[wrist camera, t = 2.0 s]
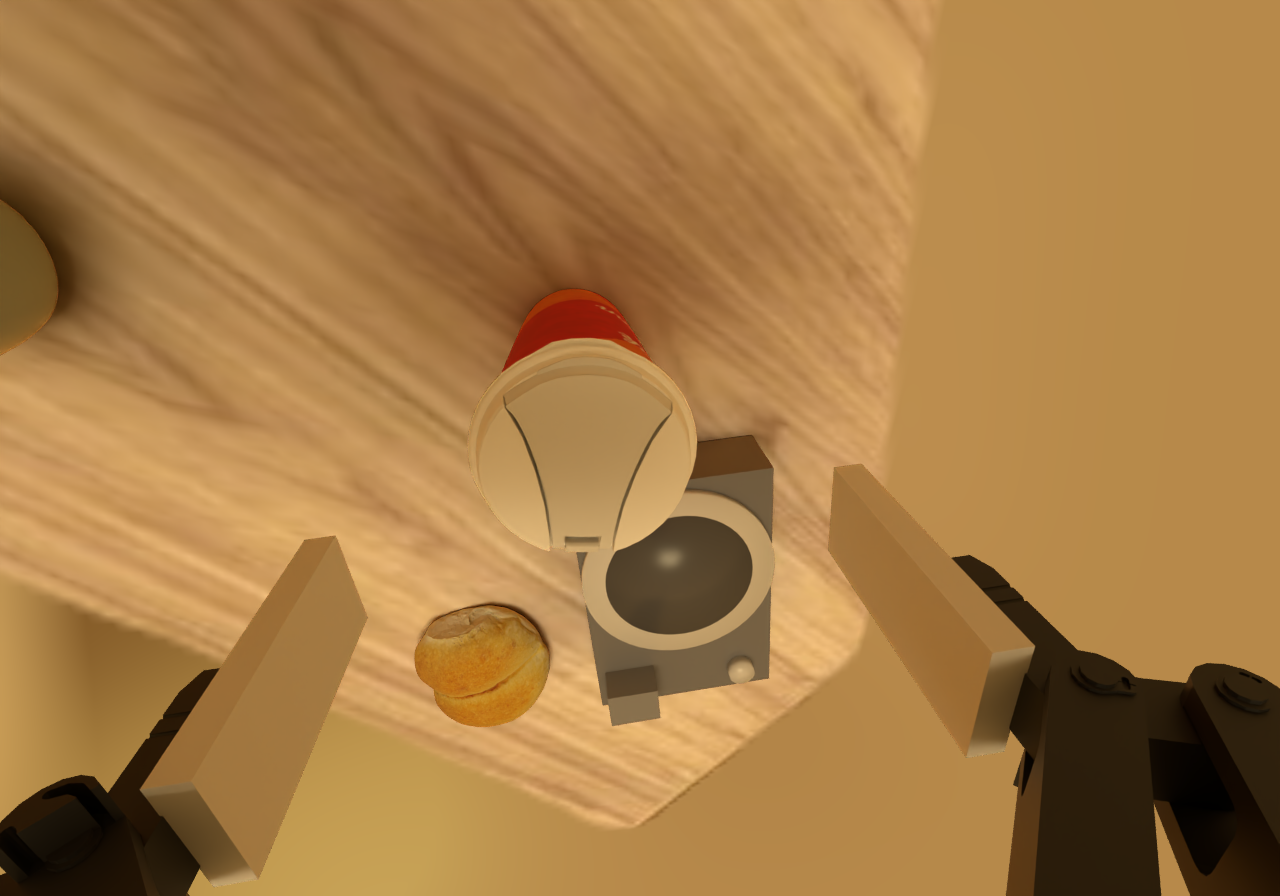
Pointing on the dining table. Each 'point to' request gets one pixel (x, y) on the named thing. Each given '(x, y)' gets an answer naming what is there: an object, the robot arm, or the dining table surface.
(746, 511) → the block
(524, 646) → the bread roll
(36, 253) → the cup
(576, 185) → the dining table surface
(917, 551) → the robot arm
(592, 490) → the paper cup
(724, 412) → the dining table surface
